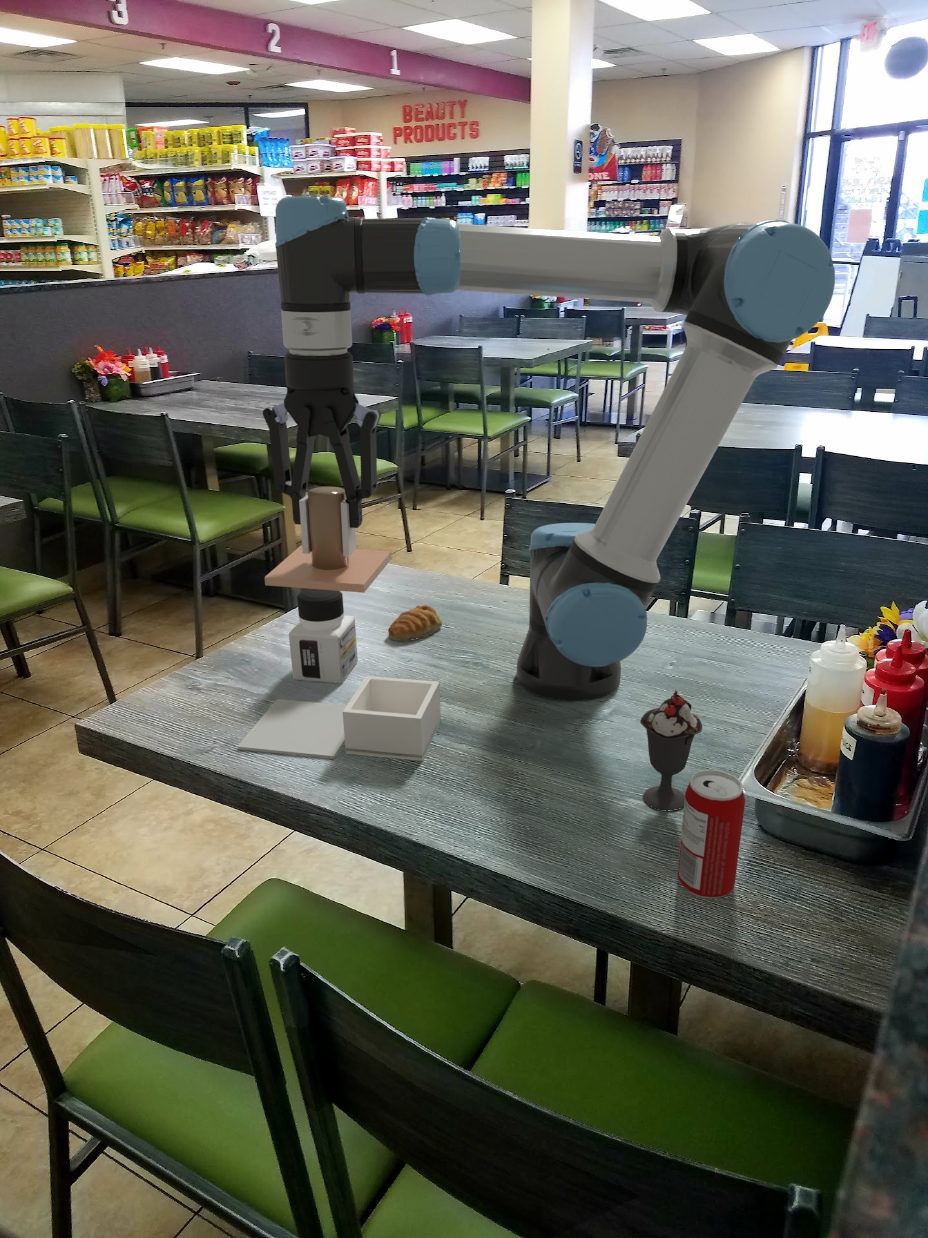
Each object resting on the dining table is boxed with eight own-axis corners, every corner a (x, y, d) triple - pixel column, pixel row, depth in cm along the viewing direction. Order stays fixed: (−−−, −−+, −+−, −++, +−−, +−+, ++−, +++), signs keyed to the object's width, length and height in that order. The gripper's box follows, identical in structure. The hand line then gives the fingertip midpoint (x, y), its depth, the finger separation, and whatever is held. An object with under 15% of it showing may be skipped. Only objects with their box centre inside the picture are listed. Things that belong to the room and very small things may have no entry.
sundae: (657, 822, 100) (667, 702, 94) (624, 791, 105) (631, 676, 99) (706, 807, 102) (719, 690, 96) (671, 778, 108) (681, 665, 102)
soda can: (742, 879, 91) (755, 777, 86) (720, 909, 87) (733, 804, 82) (691, 858, 94) (701, 759, 89) (667, 886, 90) (677, 784, 85)
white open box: (440, 721, 121) (439, 681, 119) (422, 761, 112) (420, 718, 110) (369, 715, 123) (366, 675, 121) (345, 753, 114) (342, 711, 112)
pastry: (409, 648, 143) (408, 626, 142) (377, 639, 147) (376, 617, 145) (445, 628, 150) (444, 607, 149) (413, 620, 154) (412, 599, 152)
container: (342, 684, 132) (335, 602, 127) (292, 680, 133) (284, 598, 128) (358, 661, 139) (353, 582, 133) (310, 658, 140) (303, 579, 135)
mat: (365, 709, 125) (365, 706, 124) (334, 759, 113) (334, 756, 113) (277, 701, 127) (276, 699, 127) (237, 749, 115) (237, 746, 115)
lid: (391, 558, 114) (389, 481, 110) (364, 592, 103) (360, 508, 99) (301, 552, 116) (296, 476, 112) (265, 585, 105) (258, 502, 101)
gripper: (230, 352, 98) (249, 556, 107) (385, 356, 95) (391, 566, 104) (257, 344, 105) (273, 537, 114) (403, 348, 102) (407, 546, 111)
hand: (329, 550), depth 109 cm, fingers closed on lid, 4 cm apart
